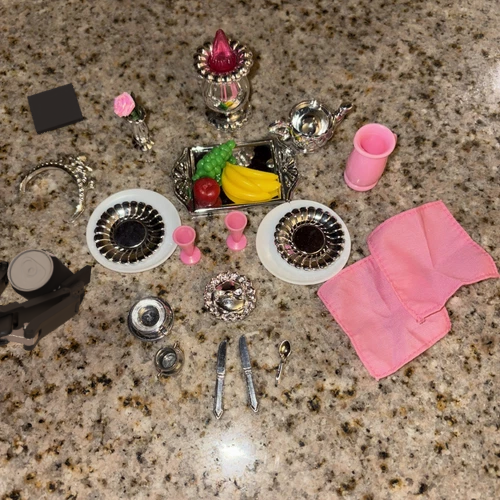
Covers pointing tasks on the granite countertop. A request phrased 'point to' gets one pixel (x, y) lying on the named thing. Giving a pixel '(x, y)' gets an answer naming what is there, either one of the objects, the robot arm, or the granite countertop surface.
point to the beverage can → (37, 273)
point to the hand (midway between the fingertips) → (65, 265)
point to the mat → (54, 108)
